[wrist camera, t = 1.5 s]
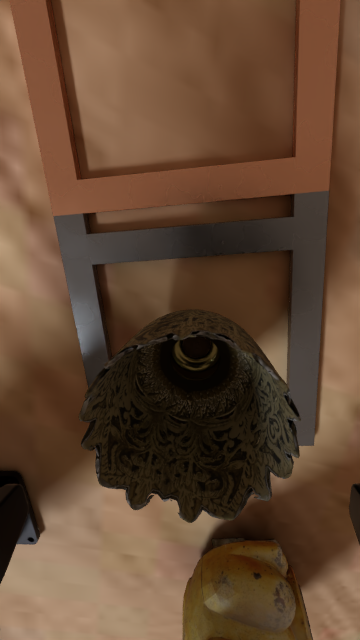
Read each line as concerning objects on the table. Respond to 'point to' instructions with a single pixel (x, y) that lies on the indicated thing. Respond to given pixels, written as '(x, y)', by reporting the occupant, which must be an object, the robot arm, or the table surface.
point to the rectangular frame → (195, 195)
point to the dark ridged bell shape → (191, 418)
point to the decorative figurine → (244, 594)
